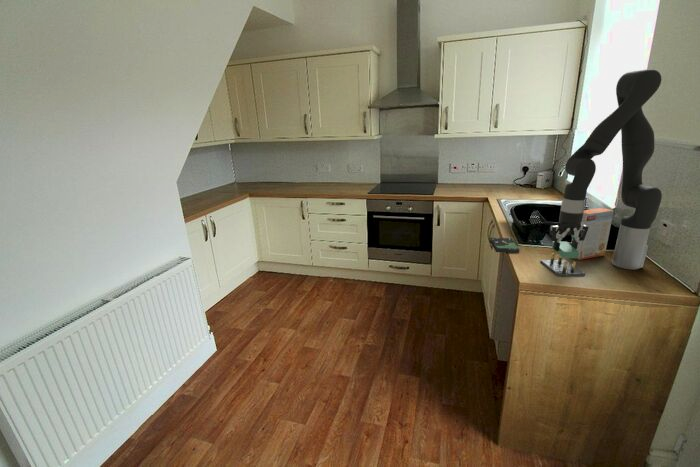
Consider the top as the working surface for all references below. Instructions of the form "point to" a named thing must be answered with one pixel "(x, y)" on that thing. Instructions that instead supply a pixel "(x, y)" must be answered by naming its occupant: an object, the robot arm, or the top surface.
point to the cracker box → (595, 232)
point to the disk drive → (504, 245)
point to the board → (566, 250)
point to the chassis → (562, 267)
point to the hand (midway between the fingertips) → (564, 250)
